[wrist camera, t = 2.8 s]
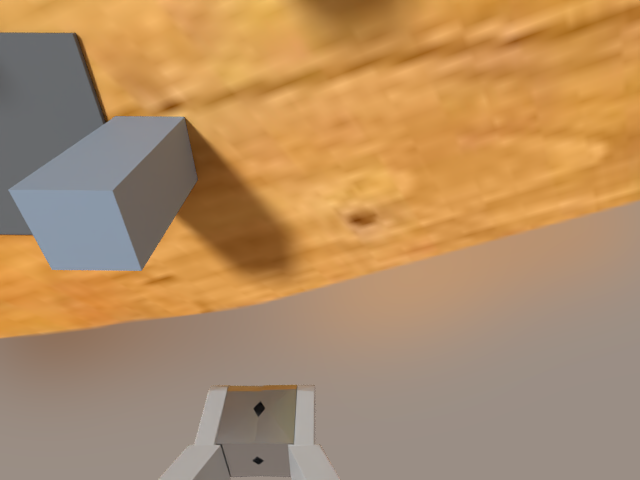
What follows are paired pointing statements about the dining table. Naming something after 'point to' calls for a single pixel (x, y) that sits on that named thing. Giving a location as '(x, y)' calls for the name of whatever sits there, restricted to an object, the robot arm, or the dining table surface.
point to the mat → (40, 109)
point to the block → (109, 194)
